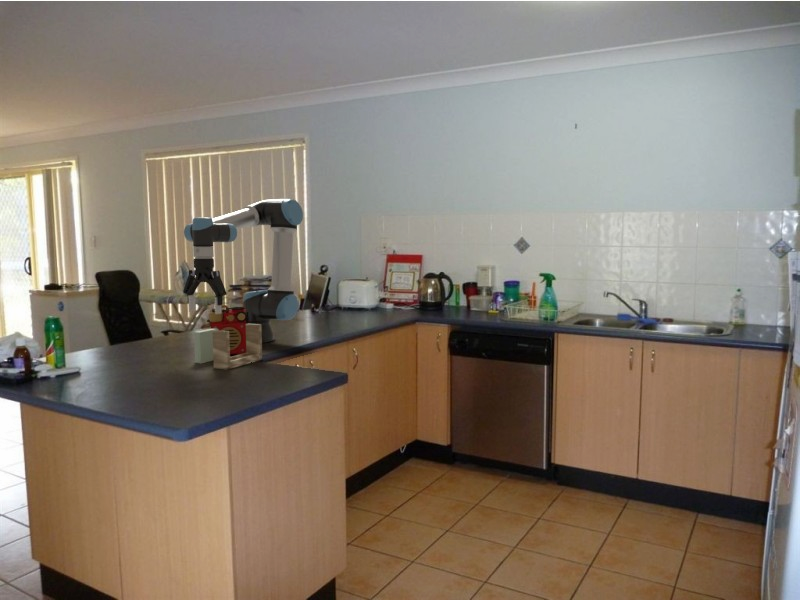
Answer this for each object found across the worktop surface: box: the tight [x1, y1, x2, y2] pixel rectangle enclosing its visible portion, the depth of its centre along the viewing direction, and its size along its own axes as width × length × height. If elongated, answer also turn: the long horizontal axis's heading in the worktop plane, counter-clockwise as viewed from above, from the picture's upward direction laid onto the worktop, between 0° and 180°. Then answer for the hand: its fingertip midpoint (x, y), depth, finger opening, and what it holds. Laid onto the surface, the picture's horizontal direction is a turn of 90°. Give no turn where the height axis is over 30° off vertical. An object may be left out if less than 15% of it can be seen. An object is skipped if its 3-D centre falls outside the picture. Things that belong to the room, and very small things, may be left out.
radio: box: [208, 304, 249, 355], centre depth 259 cm, size 16×10×20 cm, turn 105°
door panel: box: [193, 328, 219, 364], centre depth 245 cm, size 10×3×12 cm, turn 153°
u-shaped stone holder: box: [212, 323, 263, 371], centre depth 239 cm, size 20×6×14 cm, turn 153°
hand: (205, 312), depth 243 cm, fingers open, 13 cm apart
